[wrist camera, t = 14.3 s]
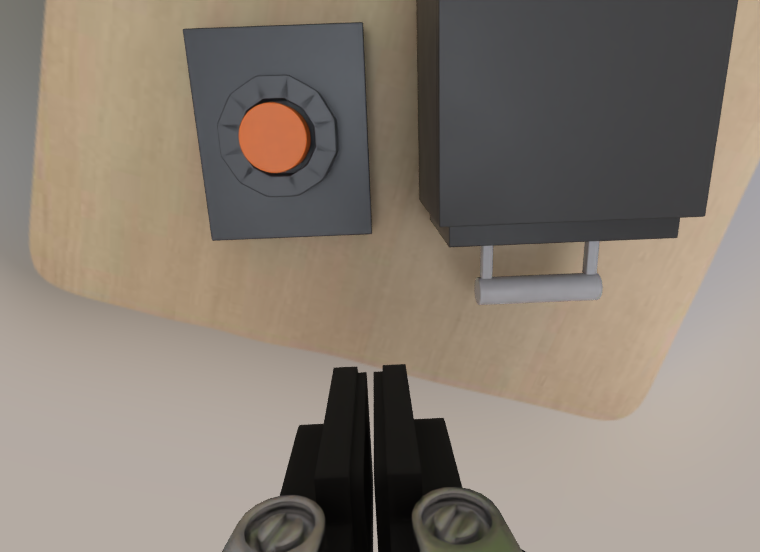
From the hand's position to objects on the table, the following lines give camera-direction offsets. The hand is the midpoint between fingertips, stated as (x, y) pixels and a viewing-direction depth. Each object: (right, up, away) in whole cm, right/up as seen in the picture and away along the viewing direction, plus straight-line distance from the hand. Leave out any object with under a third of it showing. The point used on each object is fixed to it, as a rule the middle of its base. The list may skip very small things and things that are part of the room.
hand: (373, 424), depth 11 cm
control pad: (-6, +12, +19) cm, 24 cm away
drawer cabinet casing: (+9, +16, +19) cm, 26 cm away
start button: (-5, +11, +16) cm, 20 cm away
